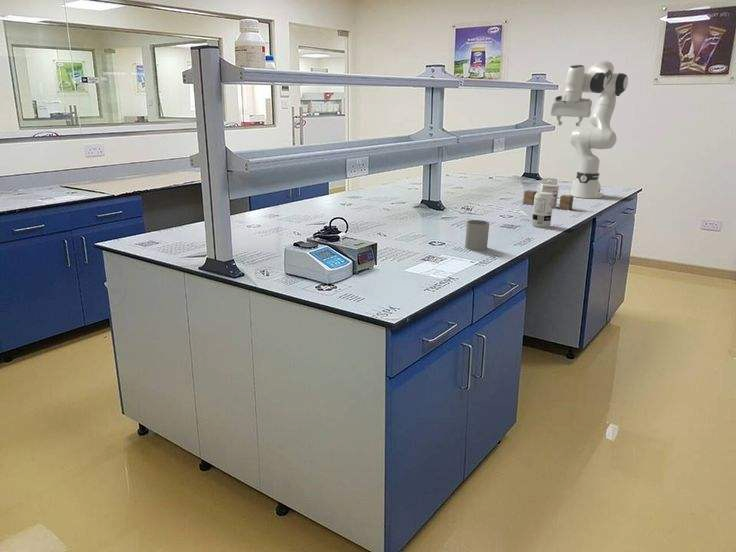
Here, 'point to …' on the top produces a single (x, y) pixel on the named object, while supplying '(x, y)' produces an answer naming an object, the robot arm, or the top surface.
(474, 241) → the cup
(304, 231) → the top surface
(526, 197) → the digit block seven
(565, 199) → the digit block one
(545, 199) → the supplement can
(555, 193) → the ink box
